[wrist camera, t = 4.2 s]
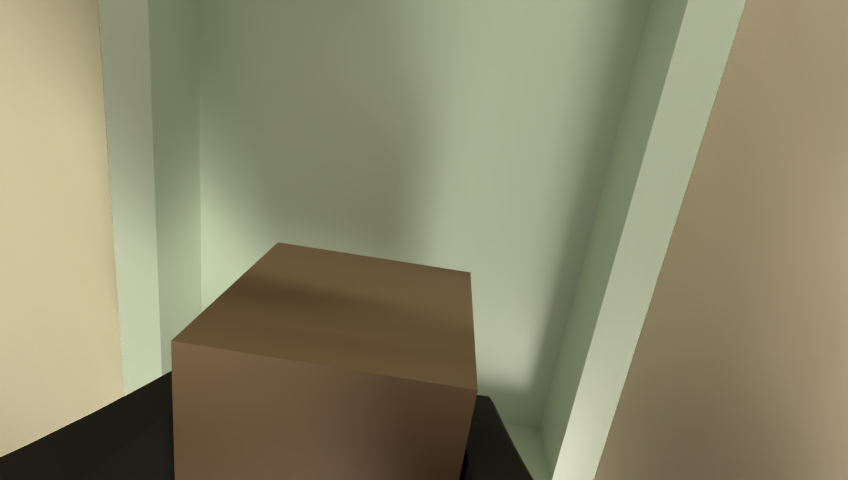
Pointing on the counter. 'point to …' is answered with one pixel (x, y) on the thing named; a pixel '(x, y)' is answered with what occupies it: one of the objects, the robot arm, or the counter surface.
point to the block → (327, 372)
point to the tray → (418, 170)
